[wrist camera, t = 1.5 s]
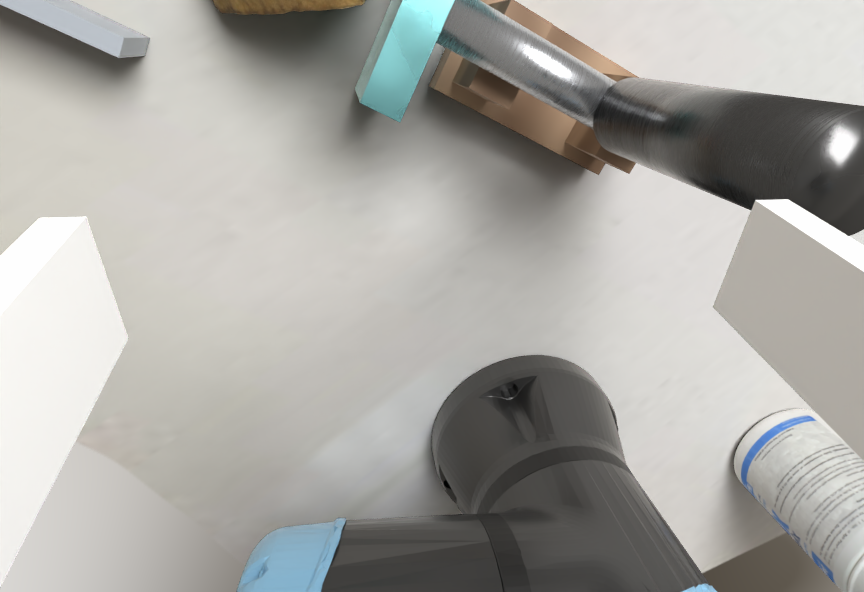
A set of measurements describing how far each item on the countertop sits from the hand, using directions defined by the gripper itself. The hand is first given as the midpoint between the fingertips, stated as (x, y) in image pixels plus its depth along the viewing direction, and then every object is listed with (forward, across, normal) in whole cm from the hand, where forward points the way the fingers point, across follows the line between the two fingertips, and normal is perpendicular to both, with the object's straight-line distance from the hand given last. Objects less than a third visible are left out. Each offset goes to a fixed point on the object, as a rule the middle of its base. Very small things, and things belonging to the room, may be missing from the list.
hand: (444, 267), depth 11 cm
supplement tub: (+20, -37, +33) cm, 54 cm away
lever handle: (+24, -8, +1) cm, 25 cm away
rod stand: (+25, -10, +2) cm, 27 cm away
